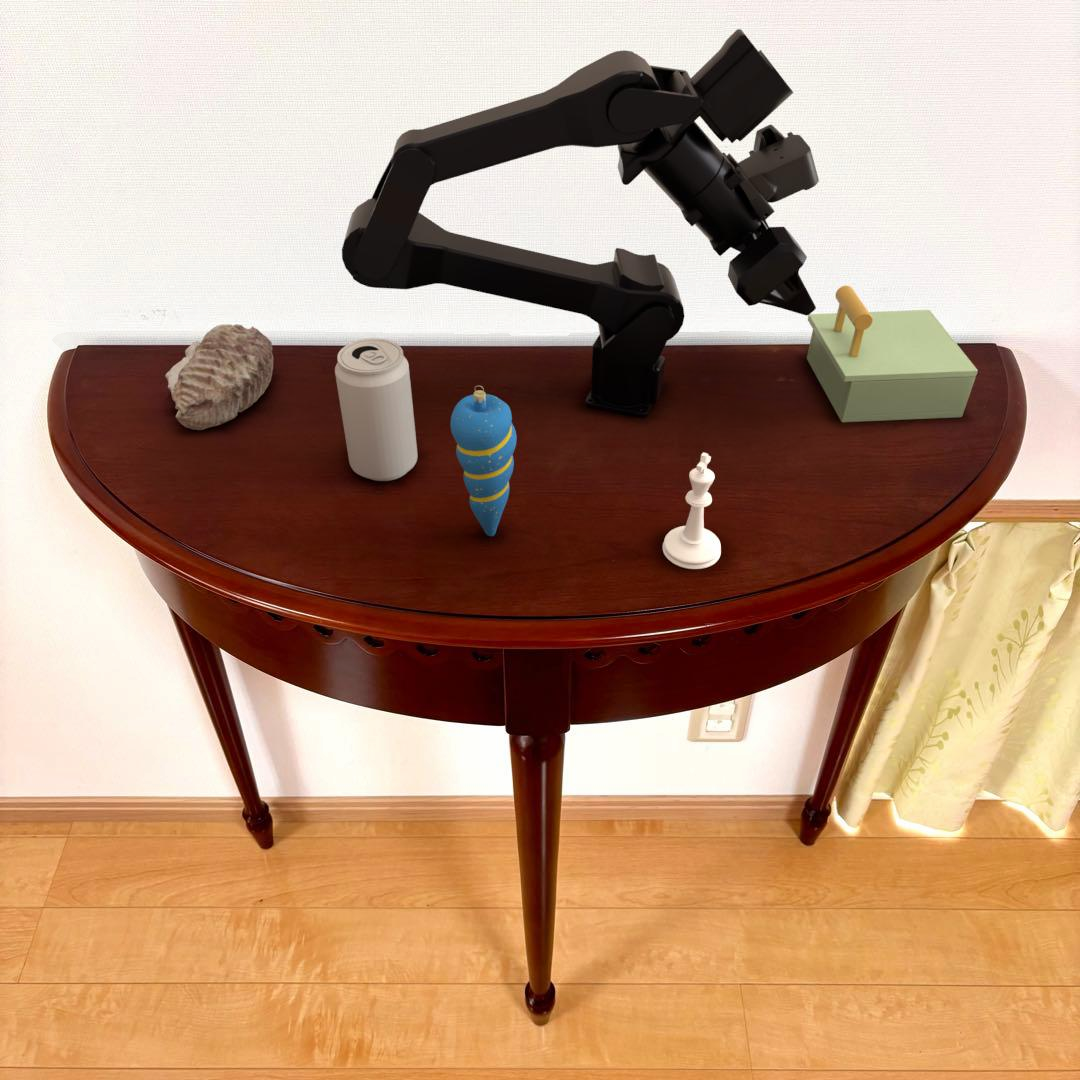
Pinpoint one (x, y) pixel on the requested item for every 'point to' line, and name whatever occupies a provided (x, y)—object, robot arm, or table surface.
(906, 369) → the chest lid
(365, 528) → the table surface
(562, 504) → the table surface
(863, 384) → the chest
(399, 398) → the beverage can
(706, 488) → the chess piece
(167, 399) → the table surface
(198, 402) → the seashell
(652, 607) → the table surface
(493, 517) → the ornament
